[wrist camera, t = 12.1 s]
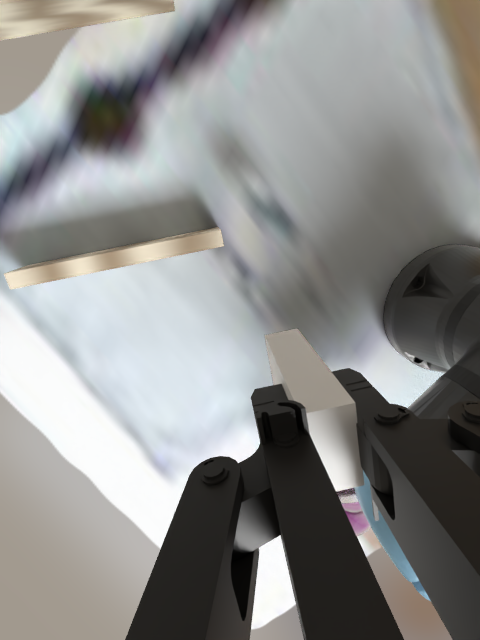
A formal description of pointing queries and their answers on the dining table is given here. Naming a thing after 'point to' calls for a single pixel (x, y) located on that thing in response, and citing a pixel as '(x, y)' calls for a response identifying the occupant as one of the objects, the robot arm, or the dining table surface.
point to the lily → (356, 517)
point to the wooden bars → (71, 12)
